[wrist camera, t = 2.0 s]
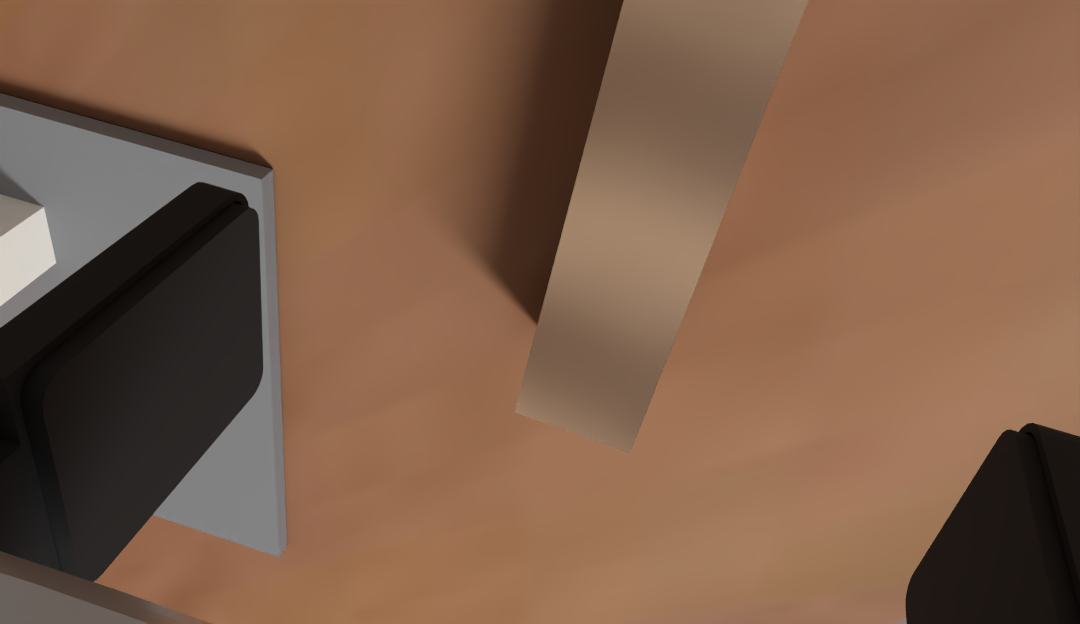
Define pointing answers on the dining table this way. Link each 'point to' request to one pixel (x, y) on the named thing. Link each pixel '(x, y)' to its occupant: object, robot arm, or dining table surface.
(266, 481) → the rubber mat
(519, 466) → the dining table surface
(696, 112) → the tan rectangular bar
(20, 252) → the tile
